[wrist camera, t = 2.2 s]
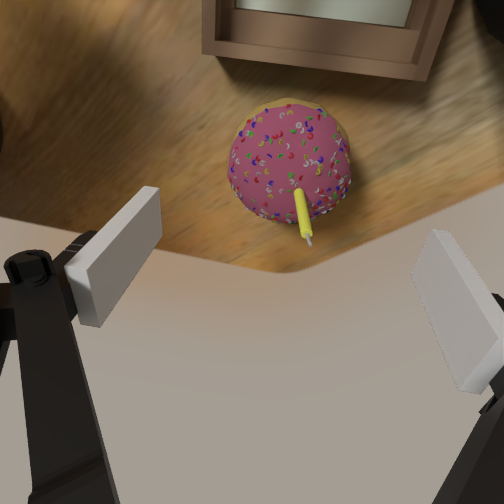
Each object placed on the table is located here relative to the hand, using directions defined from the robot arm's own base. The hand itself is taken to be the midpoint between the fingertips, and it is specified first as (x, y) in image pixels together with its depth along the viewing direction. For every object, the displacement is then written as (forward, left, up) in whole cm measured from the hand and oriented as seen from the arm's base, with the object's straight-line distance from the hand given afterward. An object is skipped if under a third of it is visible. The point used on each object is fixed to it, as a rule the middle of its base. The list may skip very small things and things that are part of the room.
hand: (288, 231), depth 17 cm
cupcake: (0, 0, -13) cm, 13 cm away
